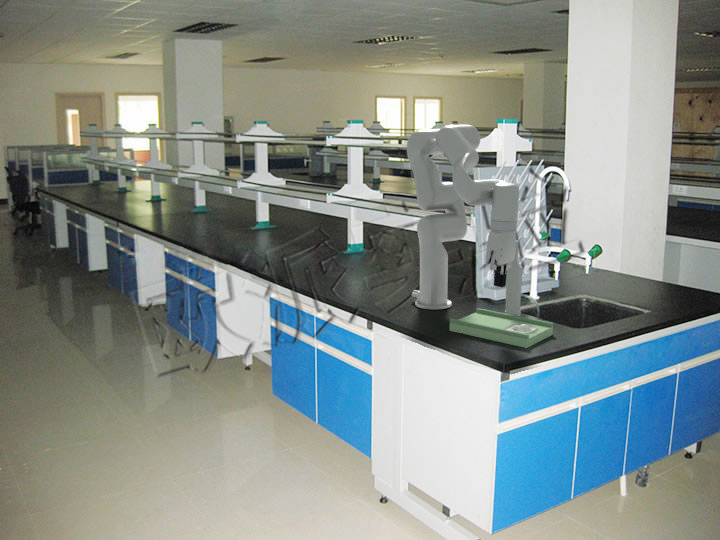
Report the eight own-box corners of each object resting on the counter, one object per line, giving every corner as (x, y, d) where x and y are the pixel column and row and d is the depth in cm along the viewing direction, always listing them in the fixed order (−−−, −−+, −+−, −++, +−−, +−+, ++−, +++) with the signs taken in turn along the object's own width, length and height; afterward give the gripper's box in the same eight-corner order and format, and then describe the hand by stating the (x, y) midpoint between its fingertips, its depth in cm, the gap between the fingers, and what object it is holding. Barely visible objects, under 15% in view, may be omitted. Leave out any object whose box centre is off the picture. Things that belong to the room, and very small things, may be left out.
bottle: (518, 314, 228) (521, 239, 223) (522, 318, 223) (525, 242, 218) (502, 314, 228) (505, 239, 223) (506, 318, 223) (509, 242, 218)
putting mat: (449, 330, 211) (449, 318, 210) (477, 319, 223) (477, 308, 222) (526, 348, 194) (527, 335, 194) (552, 334, 206) (553, 322, 205)
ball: (518, 321, 203) (529, 328, 200) (525, 321, 206) (535, 328, 203) (512, 332, 204) (522, 340, 201) (518, 332, 207) (529, 340, 204)
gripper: (505, 220, 210) (501, 279, 214) (478, 227, 199) (475, 288, 204) (527, 224, 205) (523, 283, 210) (501, 231, 194) (497, 293, 199)
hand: (499, 286), depth 207 cm, fingers closed
